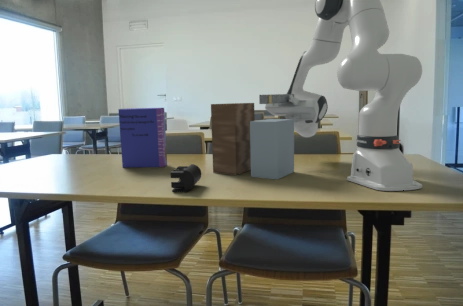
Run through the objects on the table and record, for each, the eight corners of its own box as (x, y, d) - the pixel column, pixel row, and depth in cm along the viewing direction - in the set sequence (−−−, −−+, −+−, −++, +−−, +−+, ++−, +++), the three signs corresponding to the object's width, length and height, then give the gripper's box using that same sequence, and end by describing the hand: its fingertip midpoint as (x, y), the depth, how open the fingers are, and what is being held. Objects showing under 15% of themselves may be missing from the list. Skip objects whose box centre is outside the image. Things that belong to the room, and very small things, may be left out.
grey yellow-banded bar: (286, 102, 137) (286, 94, 137) (294, 102, 135) (294, 93, 135) (258, 104, 119) (258, 94, 118) (268, 103, 117) (268, 94, 116)
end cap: (194, 193, 104) (193, 170, 103) (171, 192, 105) (169, 170, 104) (202, 184, 114) (201, 163, 113) (180, 184, 115) (179, 164, 114)
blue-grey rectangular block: (269, 169, 135) (268, 119, 133) (294, 171, 130) (294, 119, 127) (250, 176, 124) (249, 121, 121) (277, 179, 118) (276, 121, 116)
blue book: (167, 165, 150) (164, 107, 147) (164, 167, 146) (160, 107, 142) (127, 165, 152) (123, 108, 148) (122, 167, 147) (118, 108, 144)
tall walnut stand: (233, 166, 144) (231, 103, 140) (255, 168, 139) (254, 102, 135) (213, 172, 132) (210, 104, 129) (236, 175, 127) (234, 103, 123)
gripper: (274, 107, 148) (260, 90, 137) (323, 107, 138) (312, 88, 127) (271, 121, 147) (257, 105, 136) (320, 122, 136) (308, 104, 125)
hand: (284, 97), depth 131 cm, fingers closed on grey yellow-banded bar, 3 cm apart
